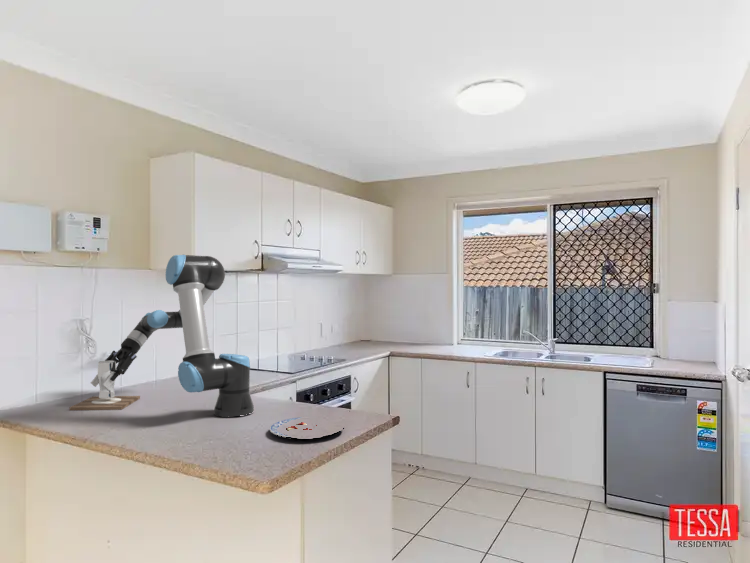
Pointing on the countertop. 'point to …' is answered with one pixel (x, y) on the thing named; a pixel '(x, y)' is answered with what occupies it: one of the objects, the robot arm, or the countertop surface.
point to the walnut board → (105, 403)
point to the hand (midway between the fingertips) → (99, 385)
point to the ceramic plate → (274, 428)
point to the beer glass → (103, 373)
